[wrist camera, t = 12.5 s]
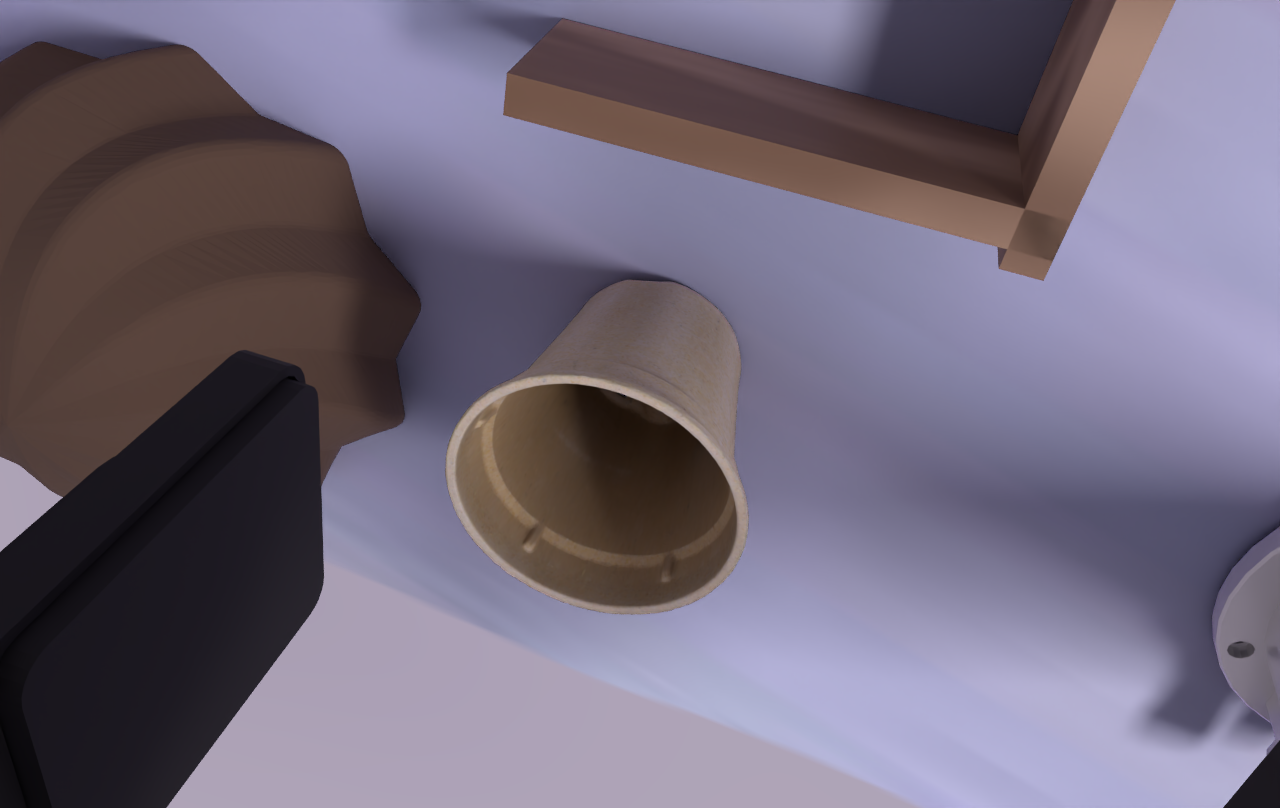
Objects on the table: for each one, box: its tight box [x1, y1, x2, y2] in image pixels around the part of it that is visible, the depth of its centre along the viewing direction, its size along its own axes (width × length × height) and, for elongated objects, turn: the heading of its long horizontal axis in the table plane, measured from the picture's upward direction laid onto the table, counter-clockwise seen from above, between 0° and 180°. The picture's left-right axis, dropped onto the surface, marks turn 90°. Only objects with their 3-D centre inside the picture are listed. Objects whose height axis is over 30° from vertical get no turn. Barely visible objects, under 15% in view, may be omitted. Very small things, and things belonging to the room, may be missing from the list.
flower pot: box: [445, 280, 749, 615], centre depth 35 cm, size 9×9×9 cm
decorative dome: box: [0, 42, 421, 497], centre depth 39 cm, size 19×20×10 cm
